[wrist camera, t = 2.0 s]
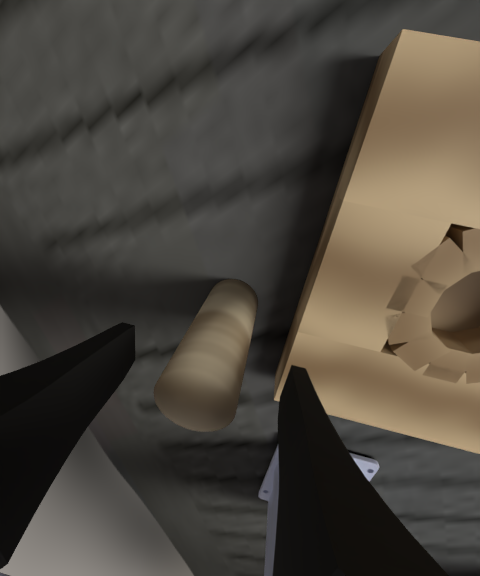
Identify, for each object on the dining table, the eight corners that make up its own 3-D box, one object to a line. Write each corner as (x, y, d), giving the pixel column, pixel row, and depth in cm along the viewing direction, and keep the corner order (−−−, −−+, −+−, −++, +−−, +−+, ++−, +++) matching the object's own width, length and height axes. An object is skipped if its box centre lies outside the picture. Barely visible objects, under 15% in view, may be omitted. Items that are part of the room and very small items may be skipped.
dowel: (252, 327, 17) (228, 440, 10) (206, 316, 18) (152, 419, 11) (262, 285, 16) (243, 383, 9) (212, 273, 16) (154, 360, 9)
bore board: (503, 431, 18) (533, 468, 16) (275, 373, 19) (274, 400, 17) (812, 129, 10) (962, 120, 8) (379, 55, 11) (402, 29, 9)
